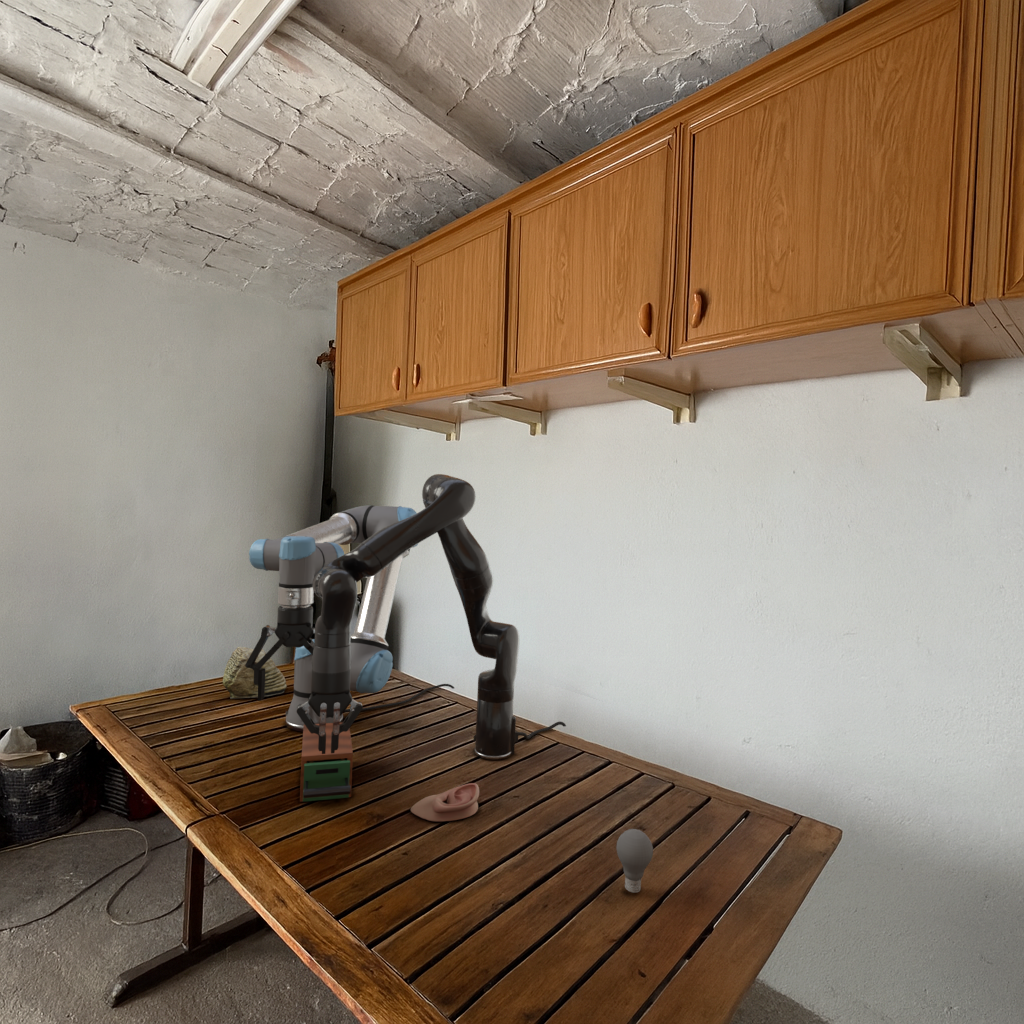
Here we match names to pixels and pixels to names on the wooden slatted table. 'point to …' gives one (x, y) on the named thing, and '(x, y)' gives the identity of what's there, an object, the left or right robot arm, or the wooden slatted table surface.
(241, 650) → the fossil
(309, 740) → the cabinet
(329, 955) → the wooden slatted table surface
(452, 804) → the anatomical model
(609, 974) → the wooden slatted table surface
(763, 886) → the wooden slatted table surface
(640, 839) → the light bulb
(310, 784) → the drawer
